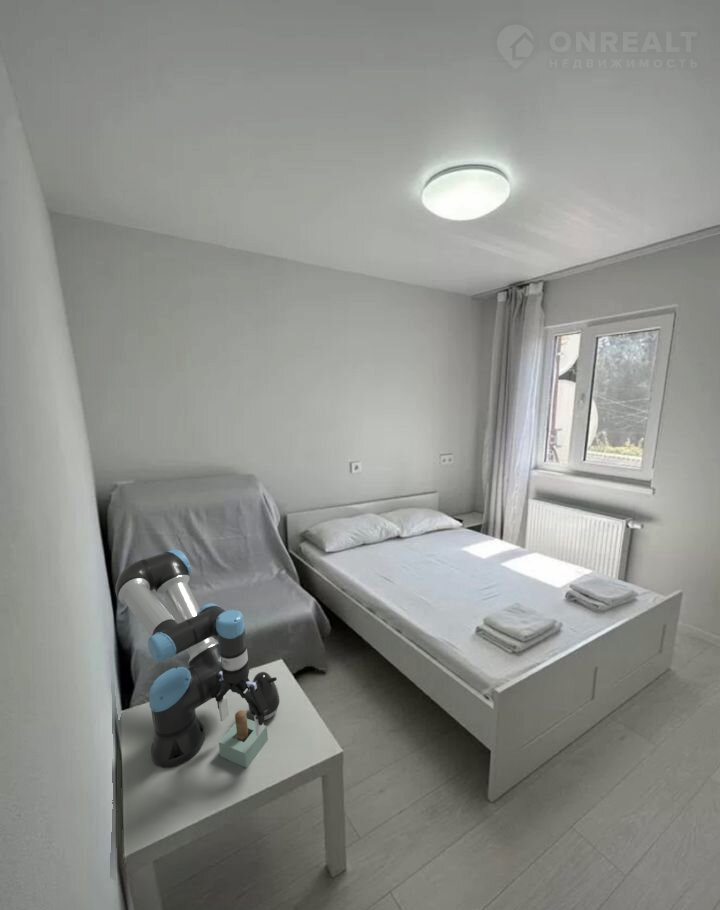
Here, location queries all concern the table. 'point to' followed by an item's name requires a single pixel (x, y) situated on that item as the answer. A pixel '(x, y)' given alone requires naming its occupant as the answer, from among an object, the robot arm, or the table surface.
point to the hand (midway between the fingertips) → (242, 724)
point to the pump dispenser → (267, 693)
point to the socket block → (242, 744)
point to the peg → (241, 725)
